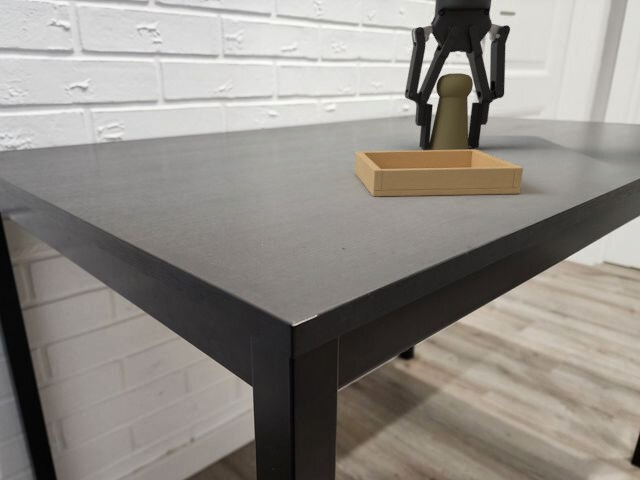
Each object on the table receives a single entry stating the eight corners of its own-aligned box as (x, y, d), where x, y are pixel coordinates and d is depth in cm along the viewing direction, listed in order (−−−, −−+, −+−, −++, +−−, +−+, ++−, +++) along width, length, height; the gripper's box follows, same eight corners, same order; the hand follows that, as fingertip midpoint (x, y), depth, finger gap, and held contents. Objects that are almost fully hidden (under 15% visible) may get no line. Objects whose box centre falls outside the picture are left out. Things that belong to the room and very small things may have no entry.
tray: (473, 170, 63) (476, 149, 62) (519, 193, 51) (523, 167, 50) (354, 173, 63) (355, 151, 62) (373, 196, 51) (374, 170, 50)
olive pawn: (471, 151, 77) (481, 73, 73) (430, 151, 78) (437, 73, 74) (464, 146, 83) (473, 73, 79) (426, 146, 83) (432, 73, 80)
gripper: (523, -17, 75) (501, 142, 84) (388, -15, 75) (380, 145, 84) (549, -26, 68) (522, 149, 77) (400, -24, 68) (390, 152, 77)
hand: (448, 146), depth 80 cm, fingers open, 7 cm apart
